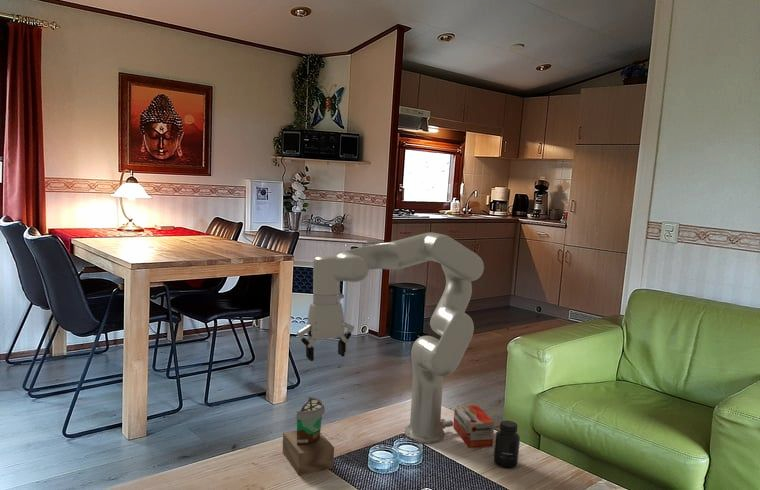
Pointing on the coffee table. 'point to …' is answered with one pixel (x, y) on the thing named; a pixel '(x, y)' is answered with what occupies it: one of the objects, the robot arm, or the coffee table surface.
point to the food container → (309, 422)
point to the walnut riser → (308, 454)
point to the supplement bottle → (507, 445)
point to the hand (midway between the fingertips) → (326, 357)
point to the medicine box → (473, 426)
